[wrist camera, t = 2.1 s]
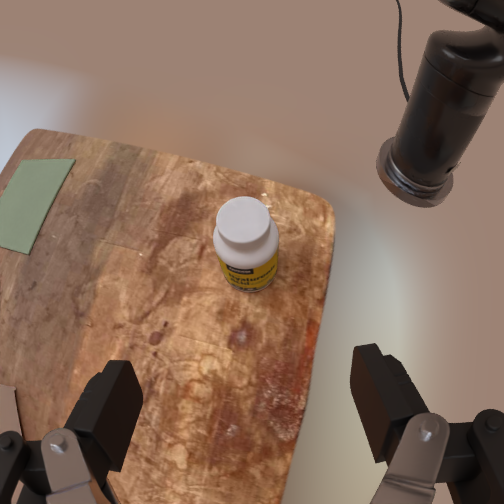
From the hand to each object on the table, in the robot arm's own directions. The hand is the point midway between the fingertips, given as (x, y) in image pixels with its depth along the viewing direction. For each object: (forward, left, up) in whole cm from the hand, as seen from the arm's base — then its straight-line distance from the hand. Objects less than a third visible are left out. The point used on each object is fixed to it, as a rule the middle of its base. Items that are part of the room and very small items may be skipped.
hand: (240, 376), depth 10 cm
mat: (-3, -42, -18) cm, 46 cm away
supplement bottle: (-10, -6, -18) cm, 22 cm away
